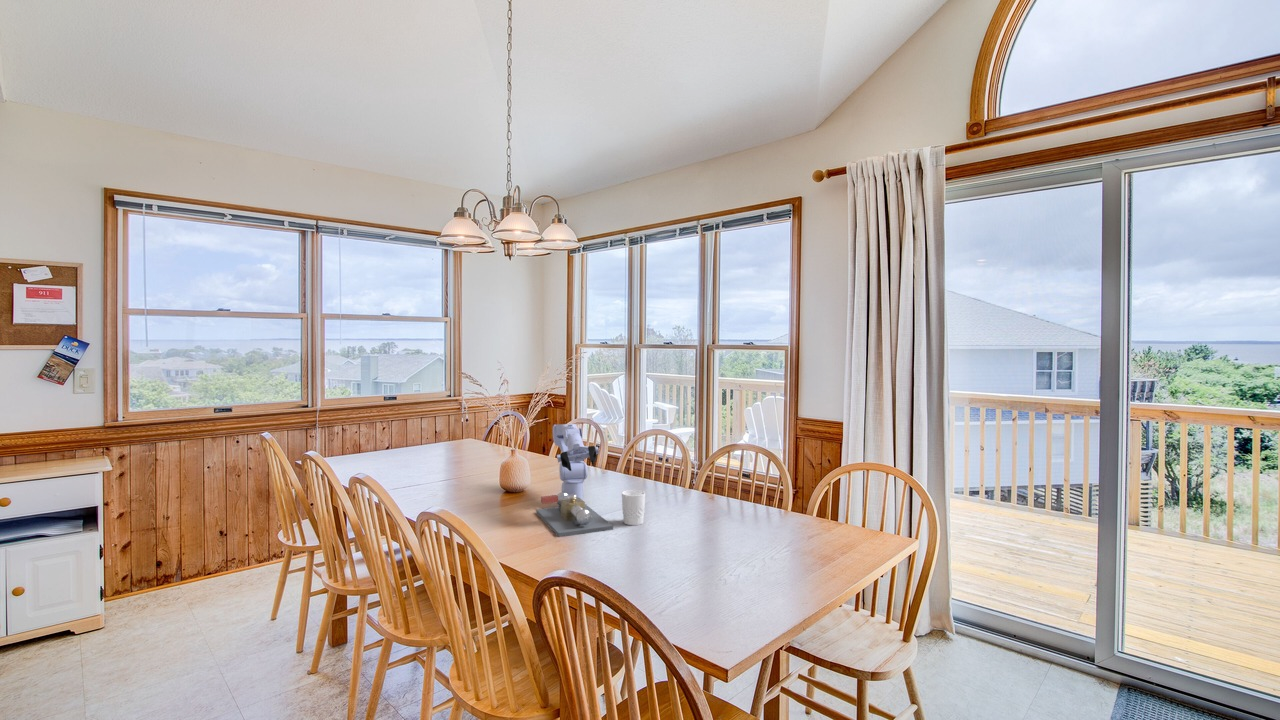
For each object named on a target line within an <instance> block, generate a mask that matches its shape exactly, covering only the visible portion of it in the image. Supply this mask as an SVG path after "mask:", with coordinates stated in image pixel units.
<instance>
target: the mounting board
mask: <svg viewBox="0 0 1280 720" xmlns="http://www.w3.org/2000/svg"><path fill="white" fill-rule="evenodd" d="M585 509H586V510H588V511H589V512H590V513H591V515H592V519H591V521H590V523H589V524H588V525H580V526H574V525H573V524H572V520H571V521H566V520H565V519H564V518H563V517H562V516H561V512H560V511H559V506H554V507H546V508H537V509H536V510H535V513H536V515H538V516H539V518H541V519H540V520H542V521H543V522H544V523H545V524H546V525H547V526H548V527H549V528H550V530H551V531H552V533H554V534H555V535H556V536H557V537H558V538H562V537H568V536H575V535H581V534H590V533H598V532H605V531H611V530H614V525H613V524H611V523H610V522H609V521H607V520H606V519H605V518H604V517H602V516H601V515H600V514H598V512H596V511H595V510H594V509H592V508H591V507H589V506H588V504H586V503H585Z"/></svg>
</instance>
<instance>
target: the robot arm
mask: <svg viewBox="0 0 1280 720" xmlns="http://www.w3.org/2000/svg"><path fill="white" fill-rule="evenodd" d="M552 441H553V443H554V445H555V446H557V447H559V449H560V450H559V451H561V453H560V454H556V459H557V463H558V464H559V468H558V469H559V472H558V473H559V480H560V481H562V484H561V492H565V493H567V494H568V495H569V494H576V495H577V498H578V497H579V498H580V499H582V500H583V501H584V483H585V480H587V478H588V465H587V462H585V460H586V459H588V458H589V461H590V463H591V467H594V466H595V462H596V461H597V460H598V457H597V455H600V449H599V446H594V445H591V446H587V445H584V441H583V431H582V428H581V427H579V428H578V425H577V424H576V423H565V424H553V425H552Z"/></svg>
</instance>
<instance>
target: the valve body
mask: <svg viewBox="0 0 1280 720" xmlns="http://www.w3.org/2000/svg"><path fill="white" fill-rule="evenodd" d="M556 495H557V496H564V495H568V494H567V493H565V492H562V491H561V492H559V493H557V494H556ZM555 503H556V504H557V505H558V507H559V511H560V512H561V516H562V517H563V518H564V519H565V520H566V521H571V520H572V524H573V525H574V526H580V525H588V524H589V523H590V521H591V519H592V515H591V513H590V512H589V511H588V510H586V509H585V504H586V502H585V501H584V499H583V500H582V499H580V498H579V497H578V498H577V499H565V500H558V502H555Z"/></svg>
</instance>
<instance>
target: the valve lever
mask: <svg viewBox="0 0 1280 720" xmlns="http://www.w3.org/2000/svg"><path fill="white" fill-rule="evenodd" d="M557 495H558V494H553V495H552V494H551V495H545V496H544V495H543V496H540V503H542V504H551V503H556V502H558V500H565V499H577V495H576V494H569V495H564V496H557Z"/></svg>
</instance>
